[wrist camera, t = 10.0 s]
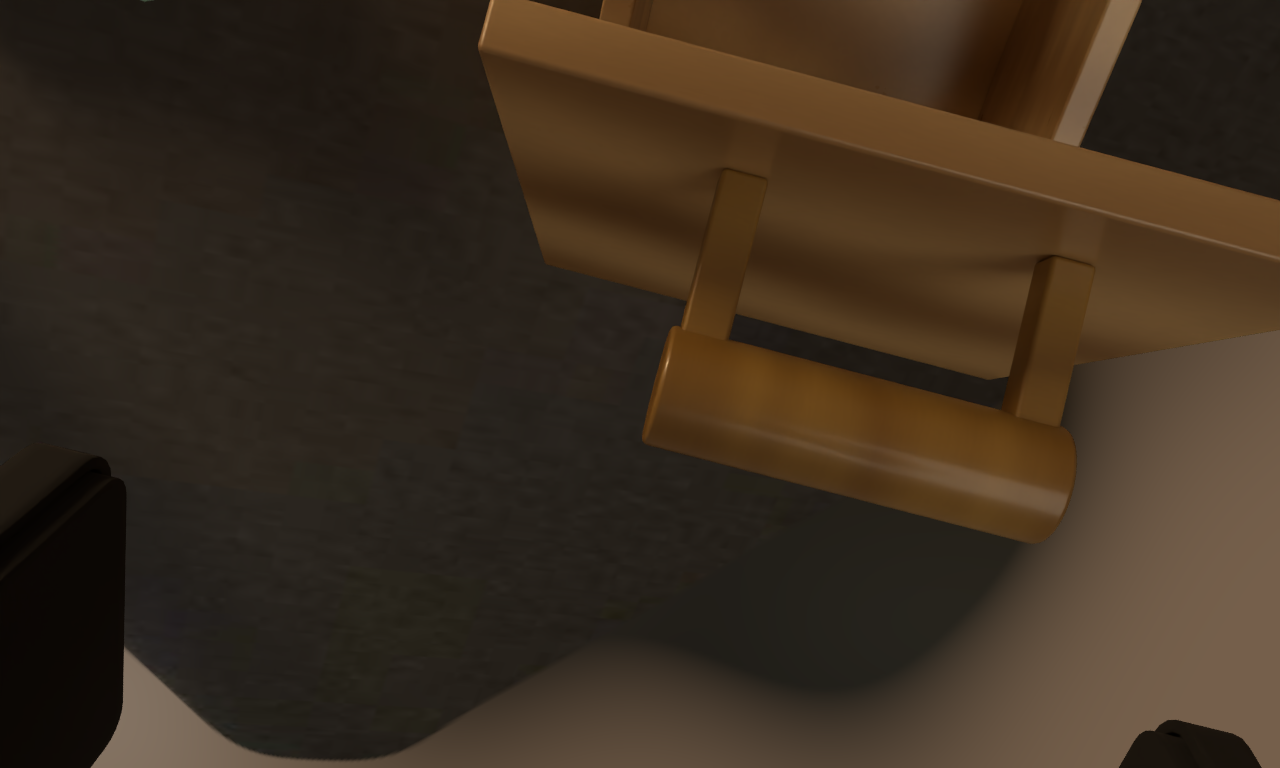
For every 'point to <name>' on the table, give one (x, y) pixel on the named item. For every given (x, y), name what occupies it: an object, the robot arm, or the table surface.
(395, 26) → the table surface
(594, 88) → the box lid
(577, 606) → the table surface
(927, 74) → the wooden box
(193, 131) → the table surface
